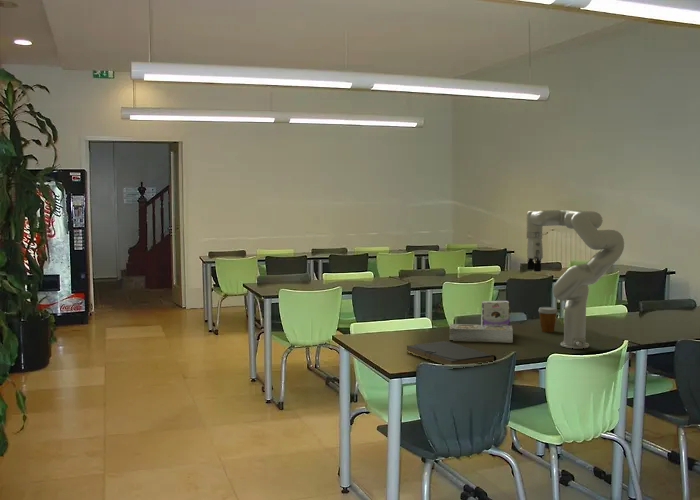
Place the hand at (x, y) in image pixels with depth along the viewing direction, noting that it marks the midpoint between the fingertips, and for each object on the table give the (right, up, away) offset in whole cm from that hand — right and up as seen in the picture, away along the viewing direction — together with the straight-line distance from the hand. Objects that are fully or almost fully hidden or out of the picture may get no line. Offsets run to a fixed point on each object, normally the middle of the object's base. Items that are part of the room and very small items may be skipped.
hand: (534, 270), depth 330 cm
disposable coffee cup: (+11, -32, +16) cm, 38 cm away
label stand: (-26, -34, -1) cm, 43 cm away
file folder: (-47, -38, -36) cm, 70 cm away
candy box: (-16, -33, +13) cm, 39 cm away
